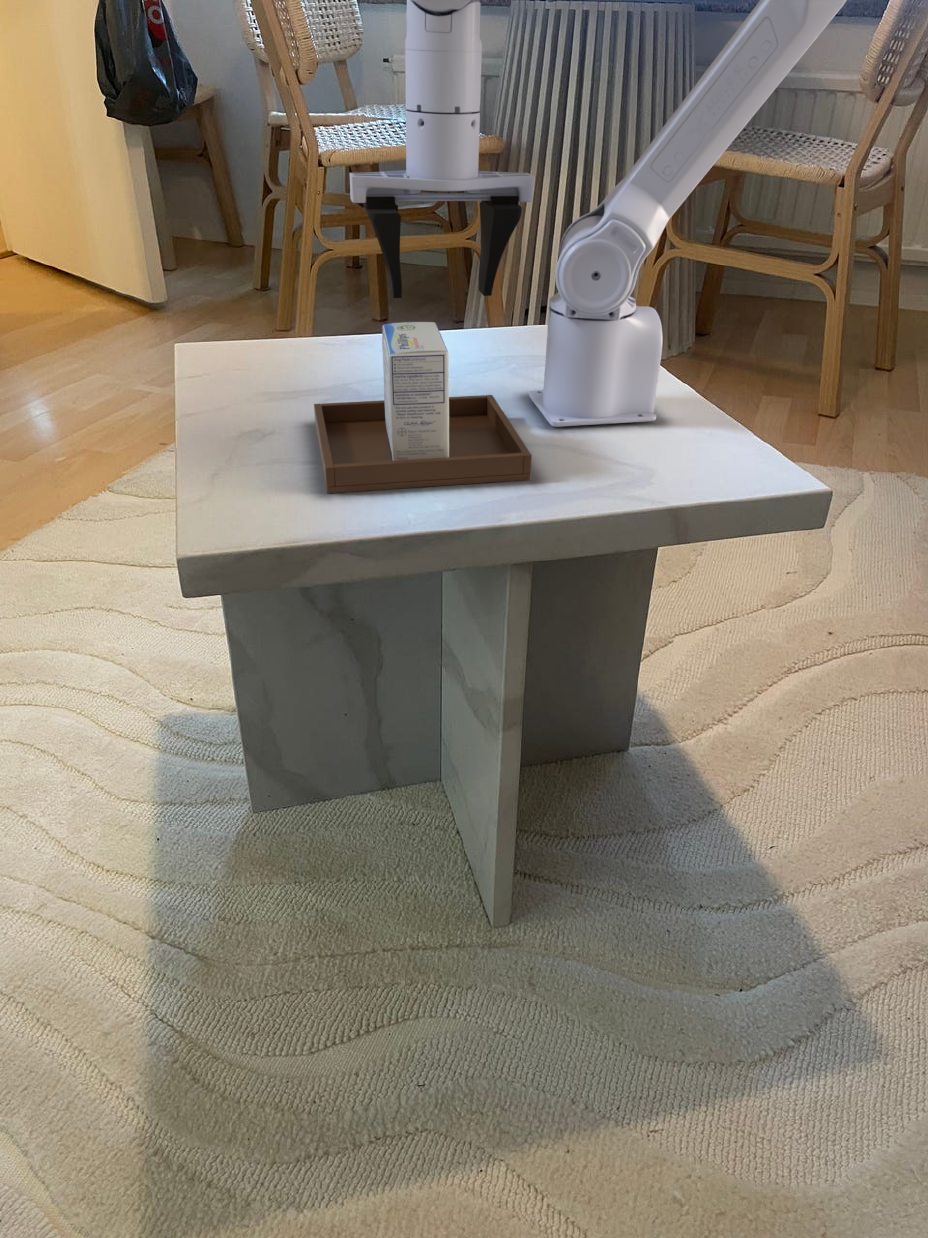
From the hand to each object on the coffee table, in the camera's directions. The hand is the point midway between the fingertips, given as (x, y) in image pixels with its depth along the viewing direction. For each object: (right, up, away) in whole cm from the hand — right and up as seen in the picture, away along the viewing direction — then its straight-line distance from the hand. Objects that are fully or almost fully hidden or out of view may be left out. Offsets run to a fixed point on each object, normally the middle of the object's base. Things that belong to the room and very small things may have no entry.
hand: (440, 294), depth 77 cm
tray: (-2, -14, -5) cm, 15 cm away
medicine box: (-2, -14, -5) cm, 15 cm away
